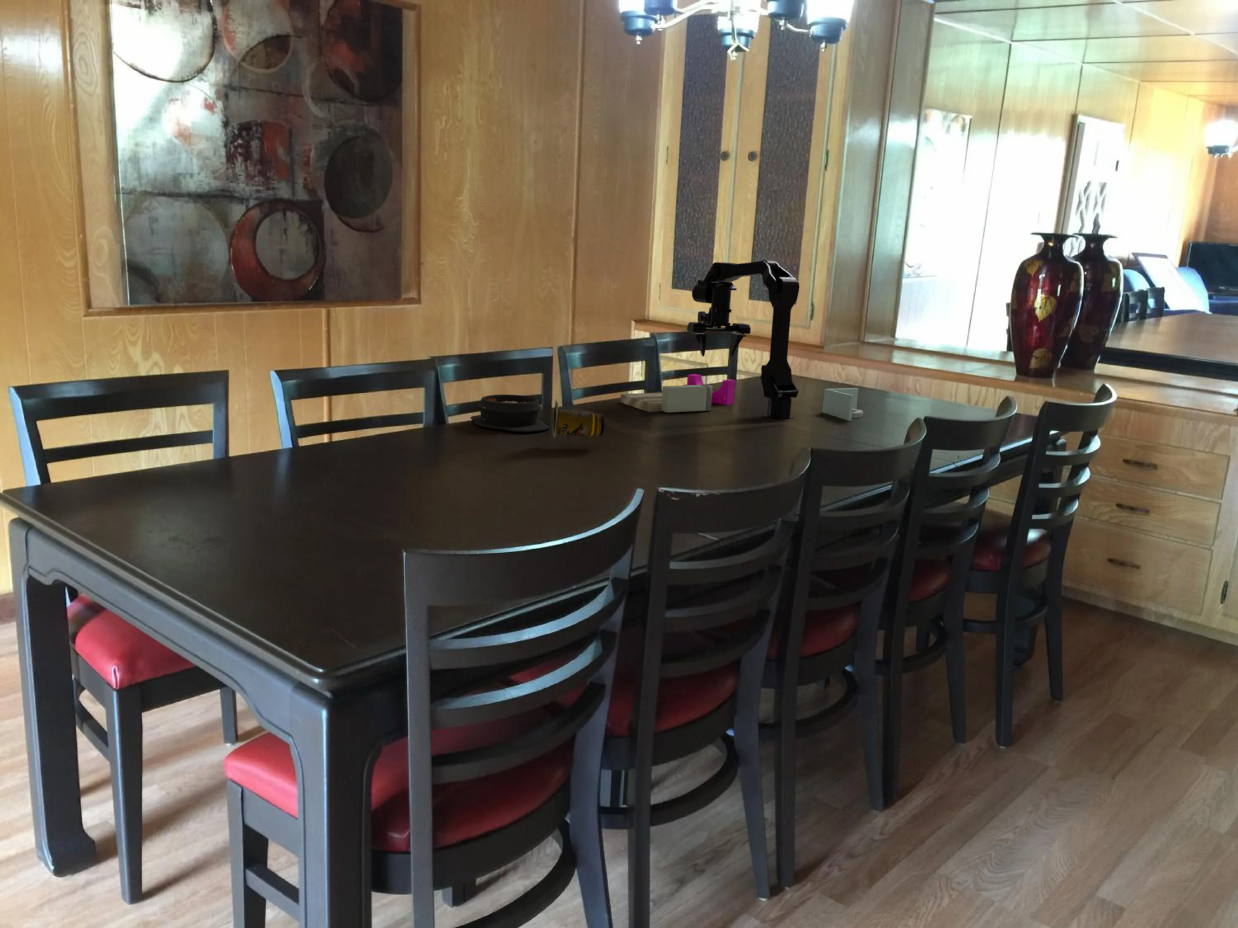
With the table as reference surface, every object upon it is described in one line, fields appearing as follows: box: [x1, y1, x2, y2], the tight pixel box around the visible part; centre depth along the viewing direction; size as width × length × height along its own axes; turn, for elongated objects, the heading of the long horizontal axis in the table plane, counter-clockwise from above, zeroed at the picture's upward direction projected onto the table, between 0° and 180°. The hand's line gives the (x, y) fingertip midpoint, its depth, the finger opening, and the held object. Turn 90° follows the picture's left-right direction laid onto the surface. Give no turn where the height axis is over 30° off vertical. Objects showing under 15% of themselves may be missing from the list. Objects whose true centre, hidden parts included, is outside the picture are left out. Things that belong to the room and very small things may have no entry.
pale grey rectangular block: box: [660, 384, 713, 413], centre depth 278 cm, size 16×3×7 cm, turn 120°
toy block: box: [681, 373, 736, 406], centre depth 298 cm, size 15×6×8 cm, turn 52°
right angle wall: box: [821, 387, 864, 422], centre depth 286 cm, size 12×12×8 cm
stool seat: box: [619, 392, 662, 413], centre depth 286 cm, size 16×20×2 cm
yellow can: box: [552, 400, 606, 438], centre depth 235 cm, size 7×8×12 cm
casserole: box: [470, 394, 550, 433], centre depth 258 cm, size 25×19×8 cm
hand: (716, 356), depth 296 cm, fingers open, 9 cm apart
